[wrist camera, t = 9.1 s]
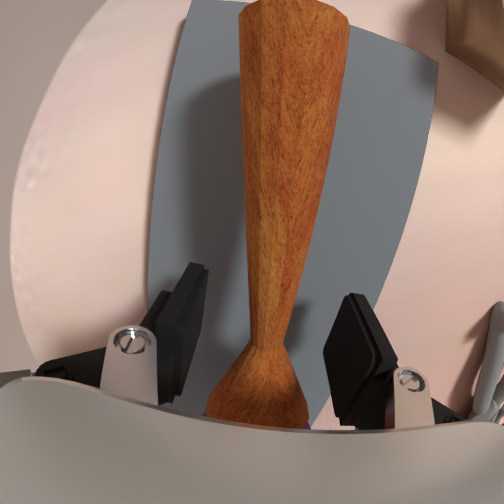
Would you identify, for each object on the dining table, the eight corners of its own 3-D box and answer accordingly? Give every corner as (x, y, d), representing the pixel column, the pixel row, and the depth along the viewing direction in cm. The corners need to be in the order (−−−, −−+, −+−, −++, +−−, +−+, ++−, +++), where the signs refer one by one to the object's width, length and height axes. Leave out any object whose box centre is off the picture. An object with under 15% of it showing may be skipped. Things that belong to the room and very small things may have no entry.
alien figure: (571, 300, 10) (482, 468, 18) (536, 273, 14) (470, 442, 22) (511, 337, 11) (428, 494, 19) (473, 299, 15) (419, 465, 23)
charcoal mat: (303, 426, 19) (304, 436, 18) (156, 401, 18) (152, 411, 17) (428, 66, 10) (438, 62, 9) (197, 8, 9) (192, -1, 8)
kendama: (437, 20, 4) (313, 509, 10) (343, 68, 10) (288, 433, 16) (188, -45, 3) (195, 520, 9) (196, 47, 9) (193, 437, 15)
